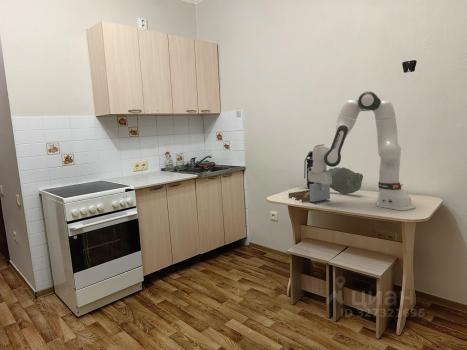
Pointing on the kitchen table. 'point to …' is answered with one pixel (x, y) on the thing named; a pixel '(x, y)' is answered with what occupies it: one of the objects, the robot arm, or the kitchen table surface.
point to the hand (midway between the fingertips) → (319, 189)
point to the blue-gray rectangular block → (319, 192)
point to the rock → (345, 180)
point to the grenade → (308, 166)
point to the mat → (319, 201)
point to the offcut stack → (306, 195)
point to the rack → (300, 195)
